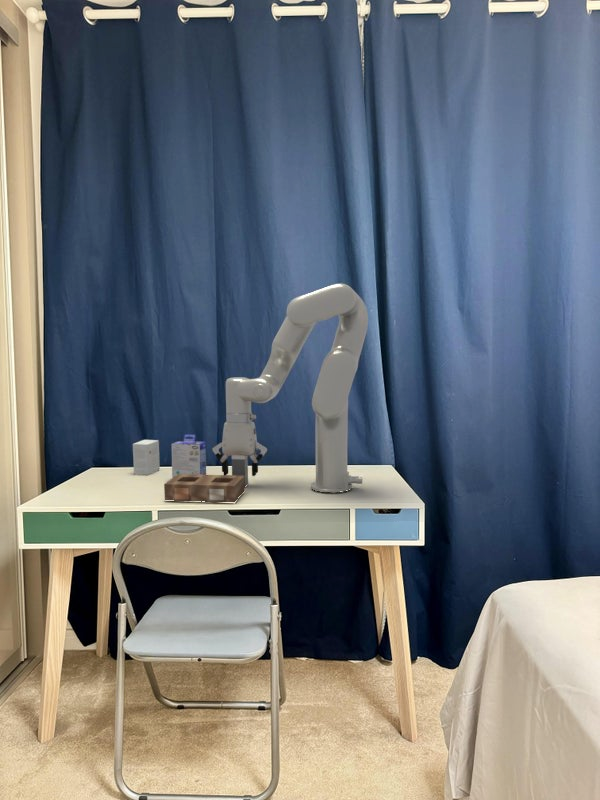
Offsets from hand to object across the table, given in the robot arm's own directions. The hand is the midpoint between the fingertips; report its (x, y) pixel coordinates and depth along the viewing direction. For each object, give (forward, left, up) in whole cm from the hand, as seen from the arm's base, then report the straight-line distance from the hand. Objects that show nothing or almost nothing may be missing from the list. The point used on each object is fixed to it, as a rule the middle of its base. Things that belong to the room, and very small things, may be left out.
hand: (240, 474), depth 184 cm
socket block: (+7, +13, -4) cm, 15 cm away
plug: (0, 0, -4) cm, 4 cm away
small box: (+36, -15, -4) cm, 39 cm away
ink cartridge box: (+18, -6, -4) cm, 19 cm away
